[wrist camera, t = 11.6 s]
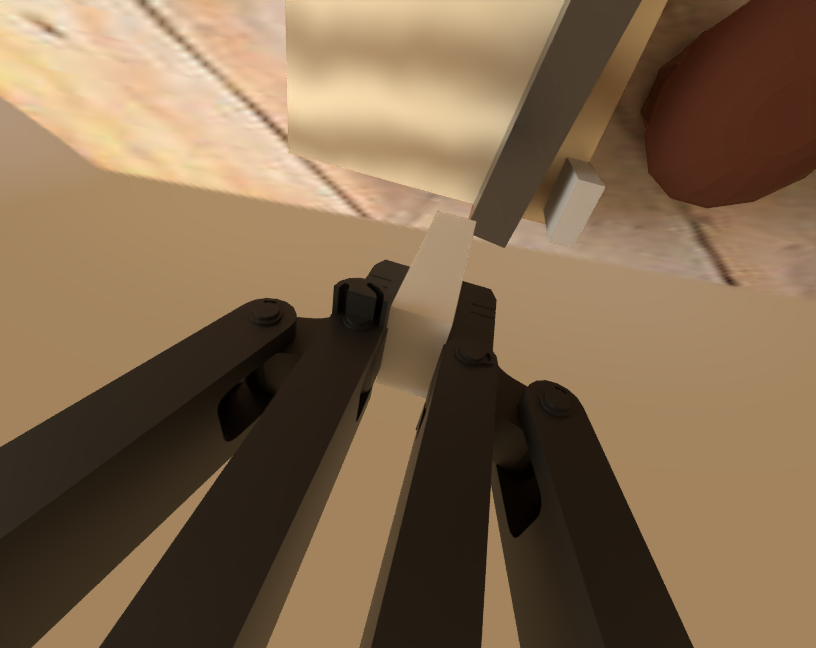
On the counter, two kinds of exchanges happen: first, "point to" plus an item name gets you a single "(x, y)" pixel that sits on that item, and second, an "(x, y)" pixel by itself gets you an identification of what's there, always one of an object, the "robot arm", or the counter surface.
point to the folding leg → (548, 110)
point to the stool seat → (434, 87)
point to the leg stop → (572, 201)
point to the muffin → (737, 107)
